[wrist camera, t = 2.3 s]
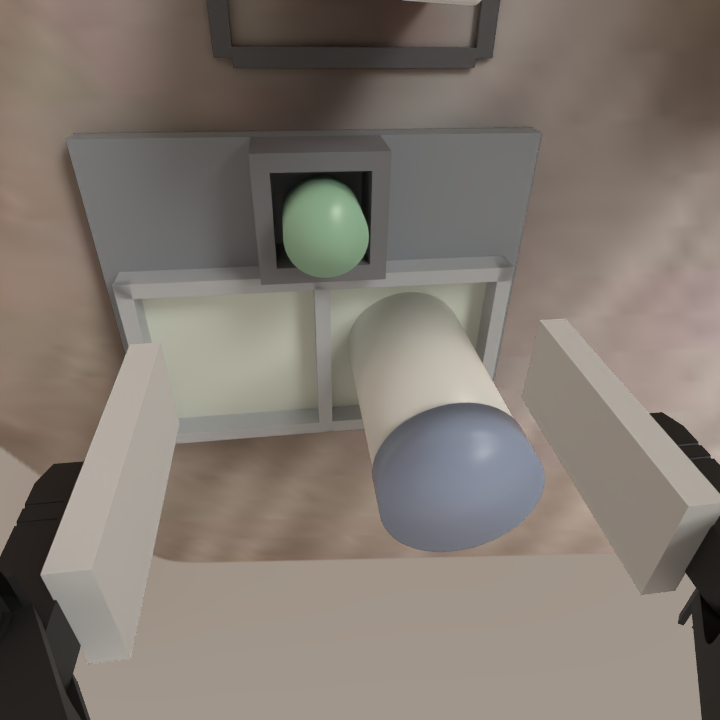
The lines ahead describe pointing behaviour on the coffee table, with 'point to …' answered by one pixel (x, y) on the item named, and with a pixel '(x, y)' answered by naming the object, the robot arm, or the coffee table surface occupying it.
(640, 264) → the coffee table surface
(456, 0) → the medicine bottle
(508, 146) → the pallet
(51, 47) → the coffee table surface
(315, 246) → the button
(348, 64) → the frame
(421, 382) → the cream and blue canister
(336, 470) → the coffee table surface
